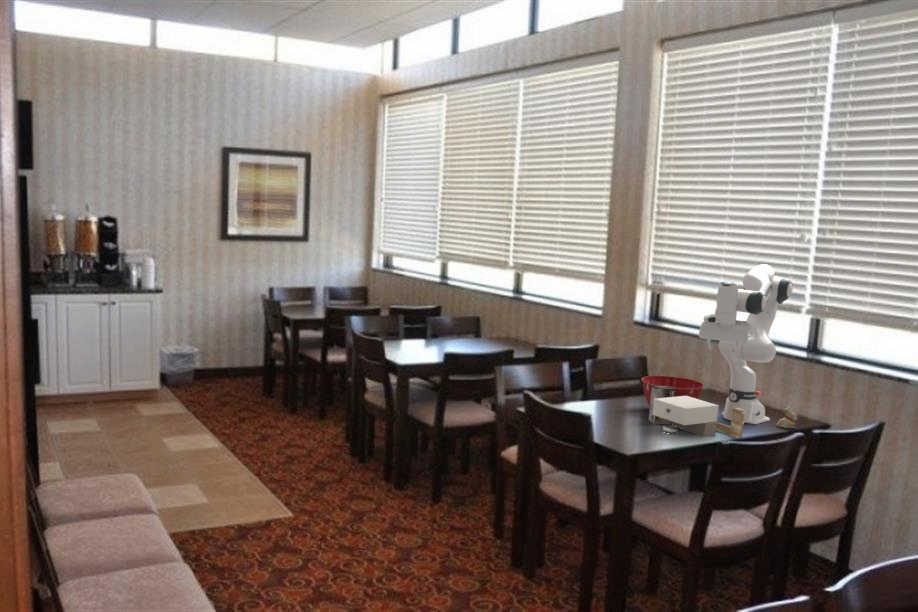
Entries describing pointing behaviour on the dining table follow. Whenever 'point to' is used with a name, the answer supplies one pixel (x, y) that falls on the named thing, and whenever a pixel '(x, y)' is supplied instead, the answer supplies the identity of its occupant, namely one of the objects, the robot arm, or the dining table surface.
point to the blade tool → (733, 424)
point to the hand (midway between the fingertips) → (721, 350)
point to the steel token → (670, 429)
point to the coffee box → (660, 393)
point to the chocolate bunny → (788, 419)
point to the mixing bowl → (680, 384)
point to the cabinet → (688, 414)
